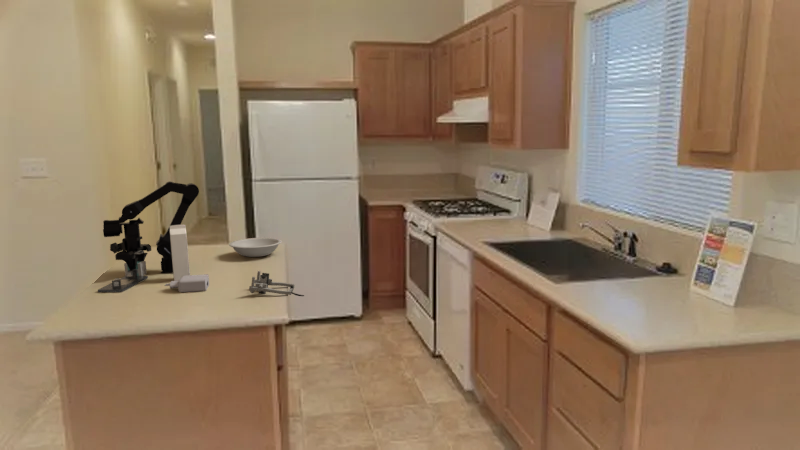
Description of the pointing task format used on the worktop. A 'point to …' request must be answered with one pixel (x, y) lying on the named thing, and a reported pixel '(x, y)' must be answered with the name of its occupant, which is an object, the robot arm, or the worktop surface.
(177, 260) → the milk
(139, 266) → the block
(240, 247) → the soup bowl
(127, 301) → the worktop surface
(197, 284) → the charger
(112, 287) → the shaft stand
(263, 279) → the bike brake
